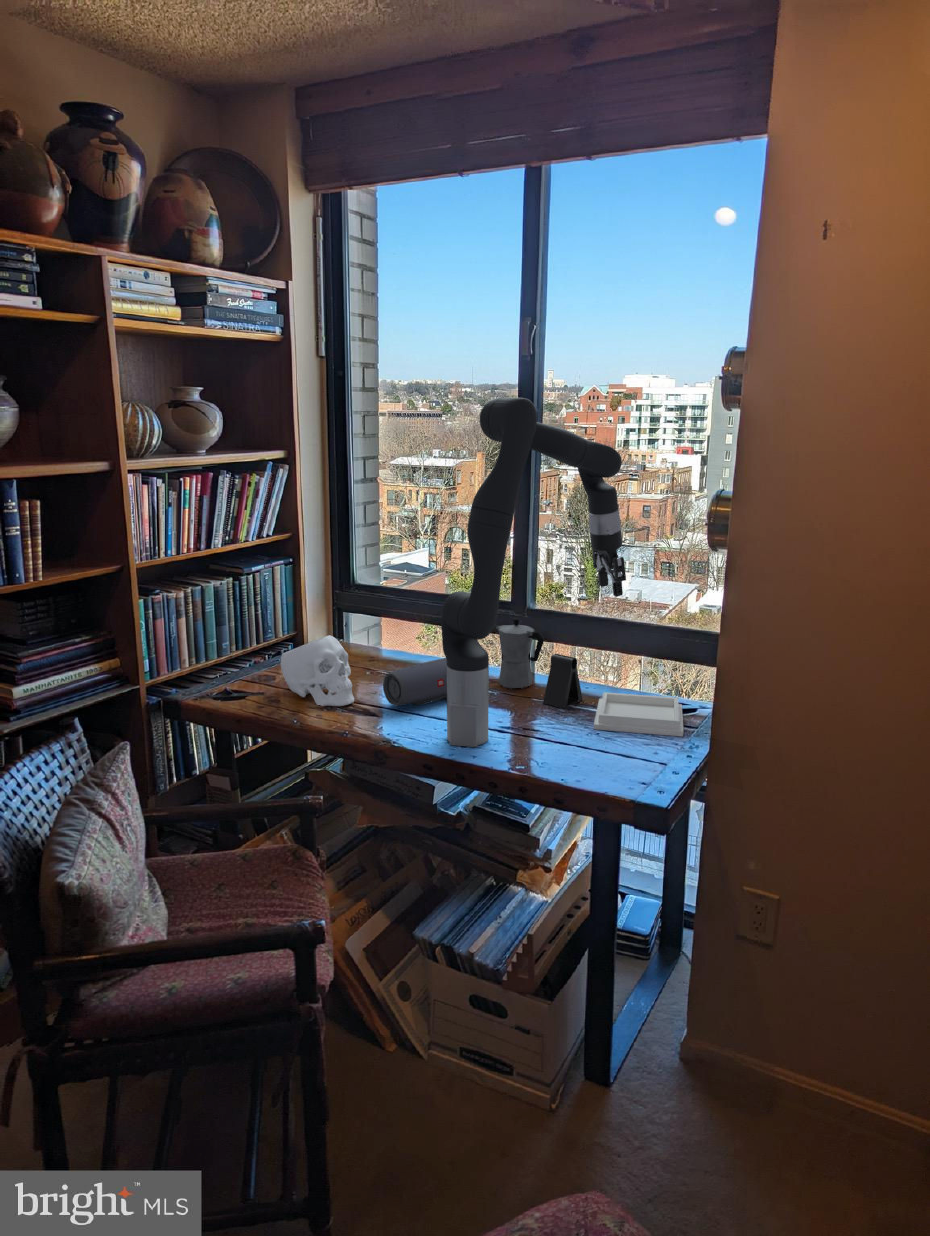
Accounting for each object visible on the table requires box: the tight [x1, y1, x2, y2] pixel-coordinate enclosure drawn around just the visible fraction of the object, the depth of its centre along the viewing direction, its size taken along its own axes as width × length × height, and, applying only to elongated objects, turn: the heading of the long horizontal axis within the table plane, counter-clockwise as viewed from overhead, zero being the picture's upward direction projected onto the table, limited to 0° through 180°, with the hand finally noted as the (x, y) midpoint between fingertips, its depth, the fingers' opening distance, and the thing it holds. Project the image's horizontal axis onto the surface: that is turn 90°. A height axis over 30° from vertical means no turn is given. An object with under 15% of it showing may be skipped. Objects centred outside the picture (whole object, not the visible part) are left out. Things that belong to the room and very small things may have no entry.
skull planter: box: [280, 634, 355, 707], centre depth 214 cm, size 14×20×19 cm
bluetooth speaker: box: [382, 657, 447, 707], centre depth 212 cm, size 23×9×10 cm, turn 129°
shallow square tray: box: [593, 691, 684, 737], centre depth 200 cm, size 18×20×3 cm
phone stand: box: [542, 653, 583, 710], centre depth 210 cm, size 9×6×12 cm, turn 140°
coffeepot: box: [495, 617, 545, 689], centre depth 223 cm, size 15×9×18 cm, turn 49°
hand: (611, 590), depth 211 cm, fingers open, 8 cm apart
